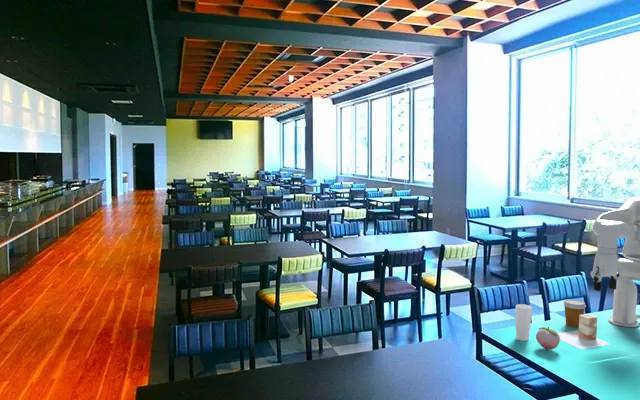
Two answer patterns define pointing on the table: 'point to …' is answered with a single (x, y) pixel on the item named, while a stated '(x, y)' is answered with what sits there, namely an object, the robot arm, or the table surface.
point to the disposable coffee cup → (573, 312)
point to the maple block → (587, 327)
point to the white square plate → (580, 340)
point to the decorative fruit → (548, 338)
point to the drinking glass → (523, 321)
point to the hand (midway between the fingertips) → (604, 289)
